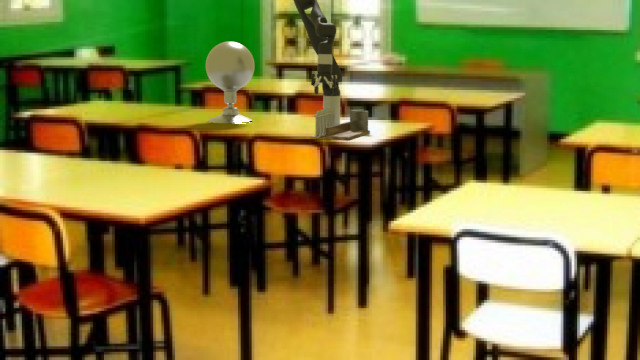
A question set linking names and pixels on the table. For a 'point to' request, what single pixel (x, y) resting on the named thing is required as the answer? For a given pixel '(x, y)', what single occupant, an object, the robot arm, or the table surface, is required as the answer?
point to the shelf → (350, 127)
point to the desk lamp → (230, 76)
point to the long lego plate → (323, 121)
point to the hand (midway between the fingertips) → (323, 94)
